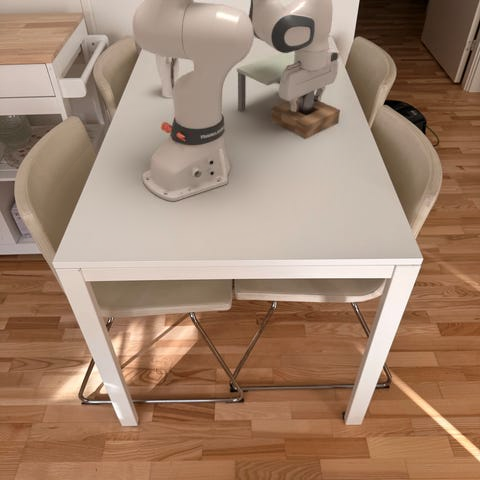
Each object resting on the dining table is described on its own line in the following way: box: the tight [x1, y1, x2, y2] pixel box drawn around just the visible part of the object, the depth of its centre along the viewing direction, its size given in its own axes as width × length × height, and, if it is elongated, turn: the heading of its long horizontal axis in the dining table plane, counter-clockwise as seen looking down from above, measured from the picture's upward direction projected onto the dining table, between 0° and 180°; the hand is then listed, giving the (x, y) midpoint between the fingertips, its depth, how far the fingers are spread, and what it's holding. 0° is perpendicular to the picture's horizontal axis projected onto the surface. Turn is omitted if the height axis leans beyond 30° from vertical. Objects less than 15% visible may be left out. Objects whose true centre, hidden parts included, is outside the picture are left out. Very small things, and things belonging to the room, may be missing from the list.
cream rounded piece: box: [155, 54, 180, 99], centre depth 144 cm, size 7×7×15 cm
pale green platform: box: [236, 52, 295, 113], centre depth 138 cm, size 20×13×13 cm, turn 131°
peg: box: [298, 90, 316, 115], centre depth 132 cm, size 4×4×10 cm
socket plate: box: [270, 97, 341, 139], centre depth 134 cm, size 14×14×4 cm
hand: (305, 105), depth 131 cm, fingers open, 8 cm apart
